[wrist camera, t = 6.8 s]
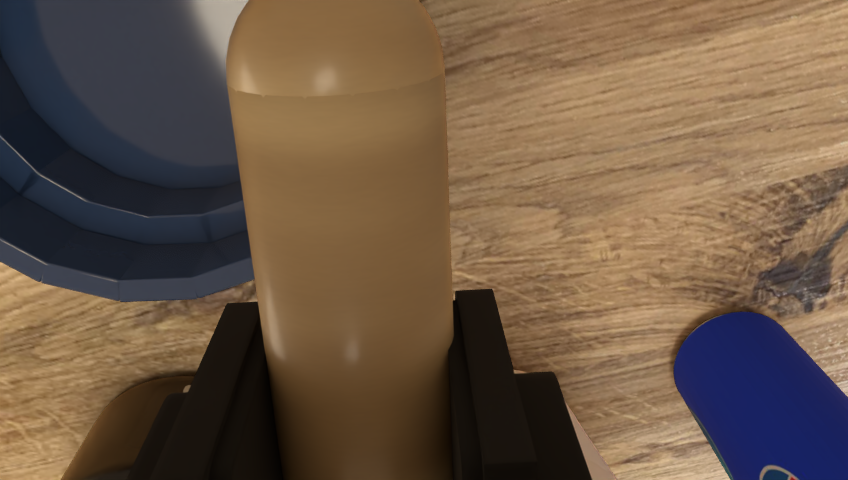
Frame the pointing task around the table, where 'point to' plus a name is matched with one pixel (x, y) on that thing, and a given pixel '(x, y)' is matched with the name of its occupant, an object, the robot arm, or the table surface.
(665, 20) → the table surface
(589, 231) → the table surface
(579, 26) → the table surface
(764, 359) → the beverage can
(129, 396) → the ink bottle
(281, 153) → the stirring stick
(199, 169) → the bowl
